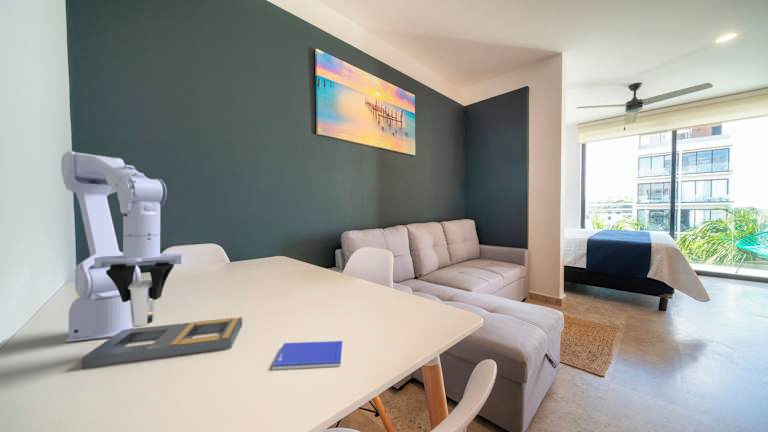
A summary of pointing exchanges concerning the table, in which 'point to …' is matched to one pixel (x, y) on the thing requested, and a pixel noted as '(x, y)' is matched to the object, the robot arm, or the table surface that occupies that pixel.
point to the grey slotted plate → (164, 342)
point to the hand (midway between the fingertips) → (142, 299)
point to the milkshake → (141, 303)
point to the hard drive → (309, 355)
